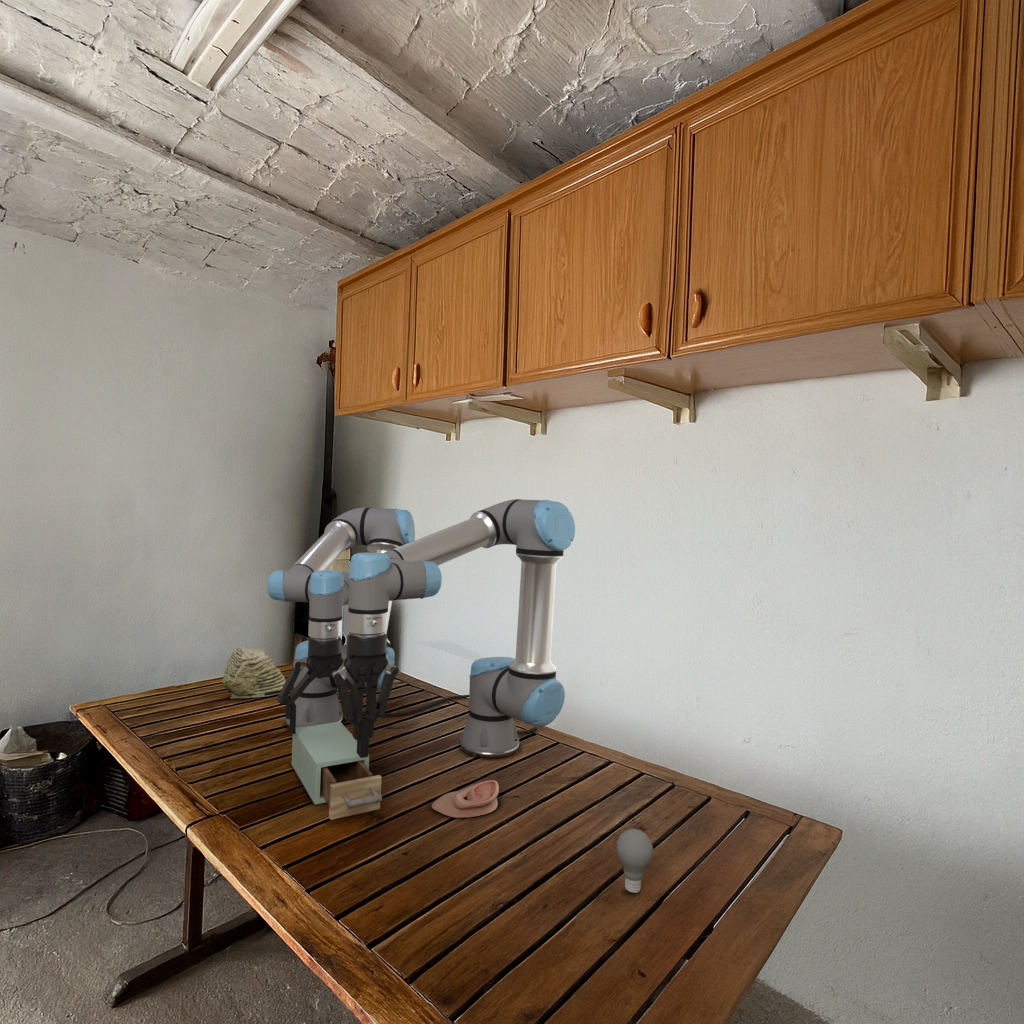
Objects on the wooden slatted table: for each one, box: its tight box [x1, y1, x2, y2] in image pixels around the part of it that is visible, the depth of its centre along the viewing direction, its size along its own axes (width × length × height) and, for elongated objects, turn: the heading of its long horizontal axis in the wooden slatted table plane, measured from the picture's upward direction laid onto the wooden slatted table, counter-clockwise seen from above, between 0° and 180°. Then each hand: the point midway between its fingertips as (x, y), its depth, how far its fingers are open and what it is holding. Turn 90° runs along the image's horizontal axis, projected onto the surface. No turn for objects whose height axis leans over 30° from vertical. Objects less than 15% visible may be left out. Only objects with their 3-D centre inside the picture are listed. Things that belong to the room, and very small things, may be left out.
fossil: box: [222, 646, 287, 699], centre depth 198 cm, size 9×18×15 cm, turn 132°
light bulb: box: [615, 828, 654, 894], centre depth 106 cm, size 6×6×10 cm
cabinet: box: [291, 722, 370, 805], centre depth 142 cm, size 22×11×9 cm, turn 31°
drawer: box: [320, 760, 383, 821], centre depth 131 cm, size 26×10×6 cm, turn 31°
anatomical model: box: [431, 779, 500, 819], centre depth 132 cm, size 13×4×12 cm
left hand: (322, 727), depth 148 cm, fingers open, 13 cm apart
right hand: (362, 754), depth 122 cm, fingers closed
